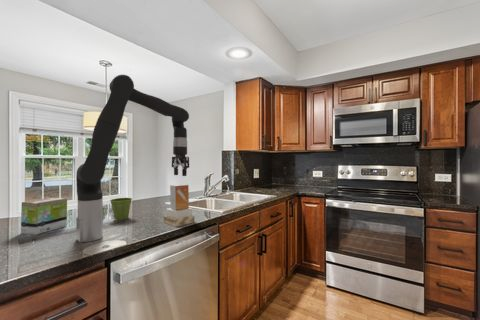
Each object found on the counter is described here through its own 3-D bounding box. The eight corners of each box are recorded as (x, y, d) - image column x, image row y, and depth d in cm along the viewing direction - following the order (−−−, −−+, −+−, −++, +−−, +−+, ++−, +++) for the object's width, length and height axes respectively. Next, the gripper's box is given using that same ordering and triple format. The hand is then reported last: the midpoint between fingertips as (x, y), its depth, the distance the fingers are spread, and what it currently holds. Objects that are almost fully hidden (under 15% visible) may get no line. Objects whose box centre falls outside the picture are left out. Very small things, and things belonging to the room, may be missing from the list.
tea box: (37, 235, 108) (37, 202, 108) (20, 233, 110) (20, 202, 110) (67, 226, 123) (67, 197, 123) (51, 224, 125) (51, 196, 125)
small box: (175, 210, 126) (175, 186, 126) (170, 208, 130) (169, 185, 130) (189, 208, 131) (188, 184, 131) (183, 206, 136) (183, 184, 136)
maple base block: (174, 227, 122) (175, 220, 122) (163, 223, 131) (163, 216, 131) (194, 223, 131) (194, 216, 131) (182, 219, 139) (182, 212, 139)
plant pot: (112, 217, 142) (112, 198, 142) (133, 215, 146) (133, 197, 146) (107, 222, 131) (107, 201, 131) (131, 220, 134) (131, 200, 134)
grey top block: (177, 219, 124) (177, 211, 124) (165, 216, 130) (165, 208, 130) (192, 215, 132) (192, 208, 132) (180, 212, 138) (180, 206, 138)
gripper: (167, 146, 133) (167, 175, 133) (181, 145, 123) (181, 176, 123) (179, 146, 138) (179, 174, 138) (193, 146, 128) (193, 175, 128)
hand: (180, 175), depth 131 cm, fingers open, 8 cm apart
